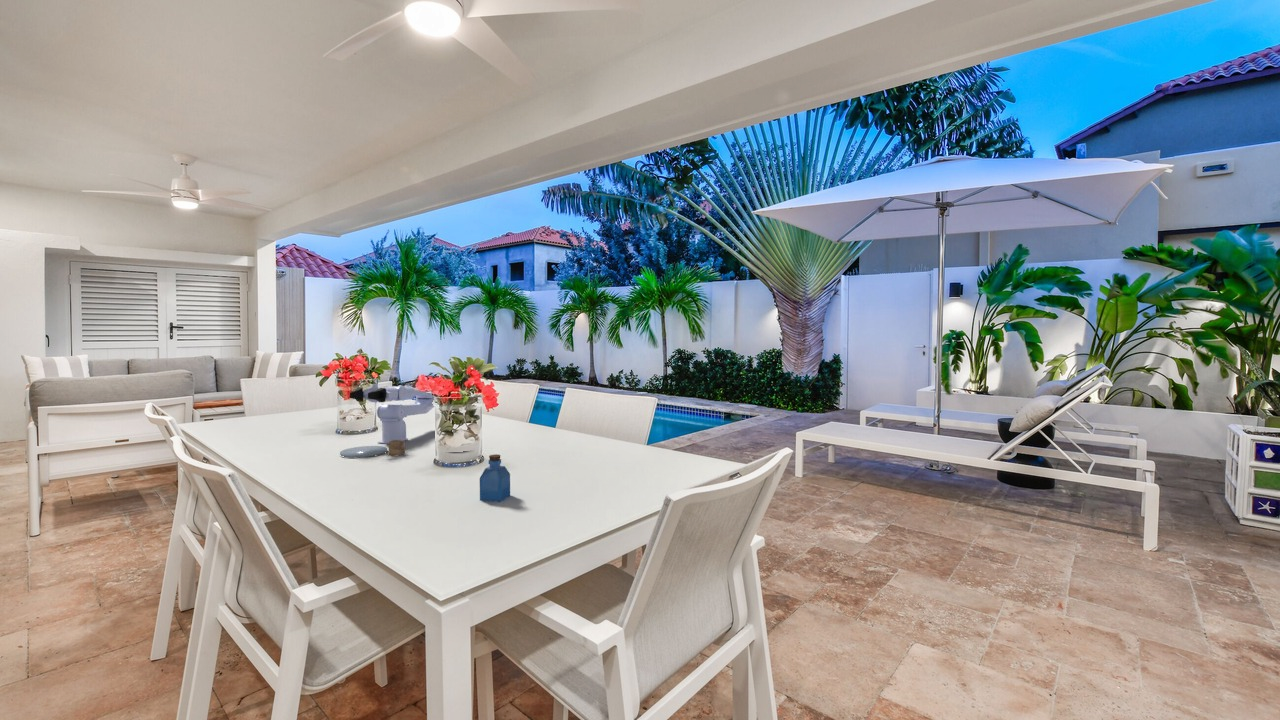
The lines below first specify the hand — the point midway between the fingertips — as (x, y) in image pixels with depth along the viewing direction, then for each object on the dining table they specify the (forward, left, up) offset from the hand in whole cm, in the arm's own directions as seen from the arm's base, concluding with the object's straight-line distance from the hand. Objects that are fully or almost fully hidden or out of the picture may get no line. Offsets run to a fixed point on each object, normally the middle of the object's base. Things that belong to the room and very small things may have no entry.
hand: (359, 395), depth 211 cm
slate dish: (+1, +2, -22) cm, 22 cm away
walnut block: (0, +15, -22) cm, 26 cm away
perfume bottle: (+42, +74, -22) cm, 88 cm away
